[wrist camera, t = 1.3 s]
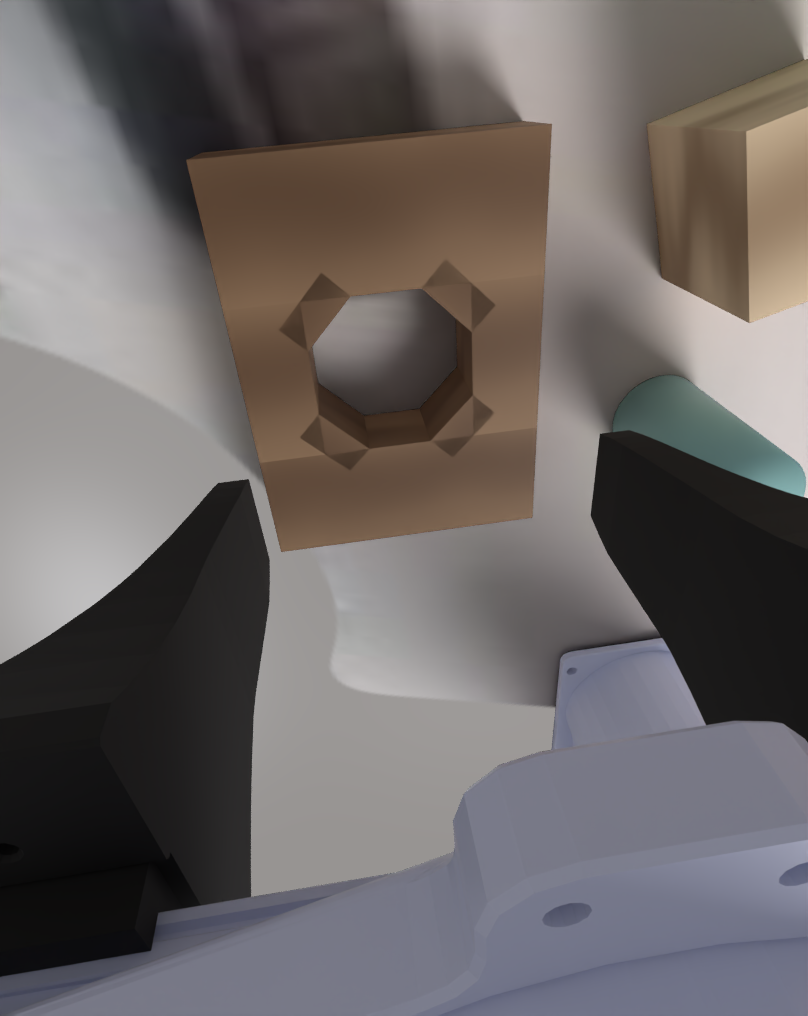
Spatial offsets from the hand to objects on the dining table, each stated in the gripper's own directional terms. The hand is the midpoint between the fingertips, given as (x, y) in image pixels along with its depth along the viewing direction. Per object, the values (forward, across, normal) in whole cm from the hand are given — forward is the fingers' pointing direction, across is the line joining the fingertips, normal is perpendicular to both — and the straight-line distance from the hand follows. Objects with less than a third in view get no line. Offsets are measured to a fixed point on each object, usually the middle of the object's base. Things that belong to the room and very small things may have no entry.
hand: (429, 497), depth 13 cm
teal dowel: (+9, -10, +4) cm, 14 cm away
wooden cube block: (+10, -11, -4) cm, 15 cm away
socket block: (+9, 0, 0) cm, 9 cm away
